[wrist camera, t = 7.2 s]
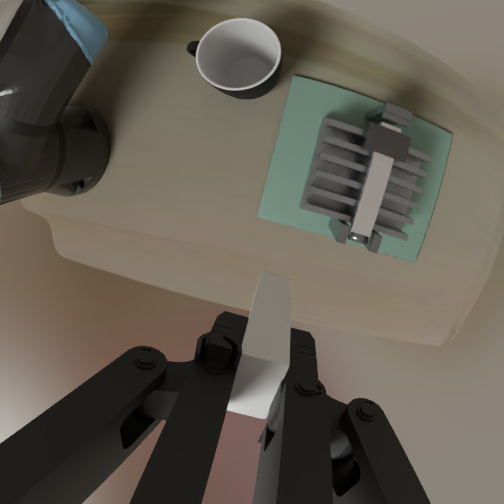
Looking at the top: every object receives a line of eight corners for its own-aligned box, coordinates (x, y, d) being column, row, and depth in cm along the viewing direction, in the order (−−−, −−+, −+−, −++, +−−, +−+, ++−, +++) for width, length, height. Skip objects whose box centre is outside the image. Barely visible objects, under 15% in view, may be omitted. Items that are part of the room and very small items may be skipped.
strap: (335, 234, 33) (337, 237, 32) (368, 118, 28) (371, 117, 27) (374, 245, 33) (377, 249, 32) (408, 133, 28) (412, 133, 27)
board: (257, 216, 40) (257, 217, 40) (292, 76, 34) (293, 75, 33) (412, 261, 39) (414, 262, 39) (450, 134, 33) (452, 134, 32)
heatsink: (296, 216, 39) (297, 233, 31) (326, 100, 34) (337, 84, 25) (389, 244, 39) (412, 267, 30) (421, 135, 33) (453, 132, 25)
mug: (294, 61, 33) (295, 32, 23) (267, 116, 36) (260, 103, 26) (214, 34, 33) (193, 4, 23) (188, 87, 36) (158, 70, 26)
